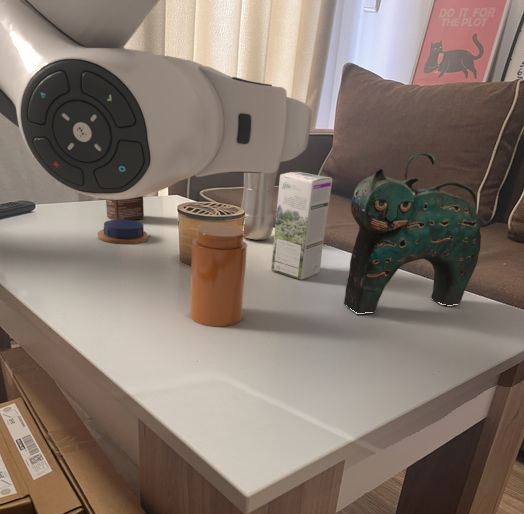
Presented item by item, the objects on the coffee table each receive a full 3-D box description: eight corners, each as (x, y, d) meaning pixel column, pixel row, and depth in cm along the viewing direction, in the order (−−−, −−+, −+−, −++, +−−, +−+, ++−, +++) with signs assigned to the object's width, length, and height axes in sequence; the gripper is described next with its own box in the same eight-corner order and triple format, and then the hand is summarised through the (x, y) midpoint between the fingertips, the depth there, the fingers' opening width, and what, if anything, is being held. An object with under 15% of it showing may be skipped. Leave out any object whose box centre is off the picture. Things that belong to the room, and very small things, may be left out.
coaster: (104, 245, 85) (104, 241, 85) (92, 231, 91) (92, 228, 91) (154, 242, 89) (154, 239, 88) (139, 229, 95) (139, 226, 95)
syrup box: (320, 273, 82) (334, 176, 75) (300, 281, 77) (313, 179, 71) (290, 264, 85) (301, 170, 78) (269, 271, 80) (278, 172, 74)
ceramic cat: (349, 319, 66) (379, 151, 57) (325, 300, 71) (349, 143, 62) (471, 309, 73) (515, 159, 64) (441, 293, 78) (478, 151, 70)
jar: (203, 329, 59) (207, 239, 55) (181, 309, 64) (183, 224, 59) (250, 322, 62) (258, 236, 58) (226, 303, 67) (231, 222, 62)
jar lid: (150, 237, 89) (150, 227, 89) (114, 240, 85) (114, 230, 85) (132, 227, 94) (132, 218, 93) (97, 230, 90) (97, 221, 89)
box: (132, 214, 105) (131, 151, 100) (144, 219, 102) (143, 154, 97) (104, 217, 101) (101, 151, 96) (116, 222, 98) (113, 154, 93)
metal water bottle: (244, 231, 101) (253, 118, 92) (277, 238, 99) (289, 123, 90) (230, 238, 95) (238, 119, 86) (265, 245, 93) (276, 124, 84)
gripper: (60, 146, 45) (126, 135, 57) (294, 175, 43) (311, 158, 55) (54, 63, 42) (124, 70, 54) (304, 89, 40) (319, 91, 52)
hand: (220, 114), depth 55 cm, fingers open, 8 cm apart
